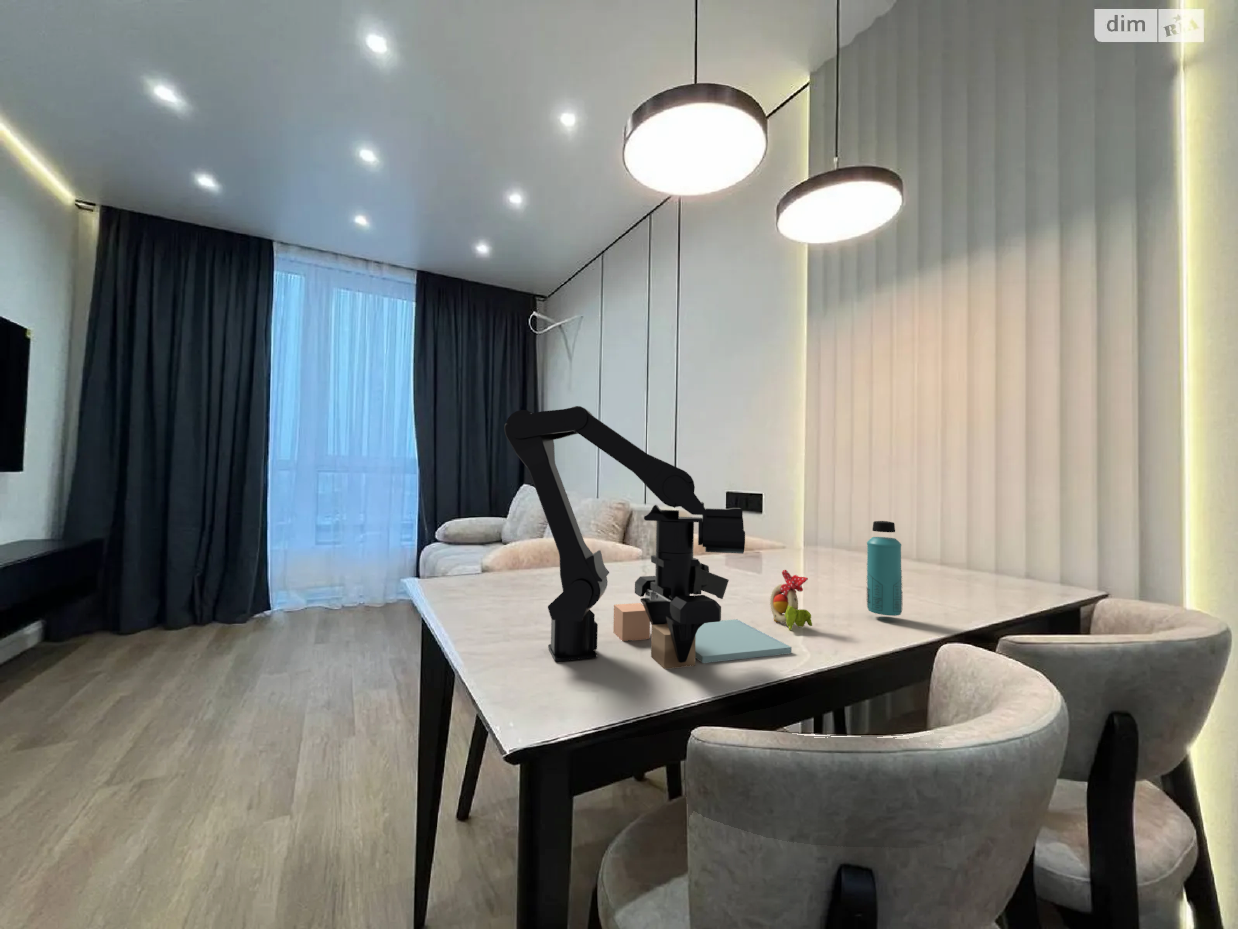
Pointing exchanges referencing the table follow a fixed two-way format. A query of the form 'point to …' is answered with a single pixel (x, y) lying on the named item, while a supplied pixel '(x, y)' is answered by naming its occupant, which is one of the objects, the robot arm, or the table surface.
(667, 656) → the walnut cube
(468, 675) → the table surface
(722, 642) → the board
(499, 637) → the table surface
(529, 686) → the table surface
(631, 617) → the terracotta cube
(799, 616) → the bird rattle
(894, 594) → the beverage bottle
